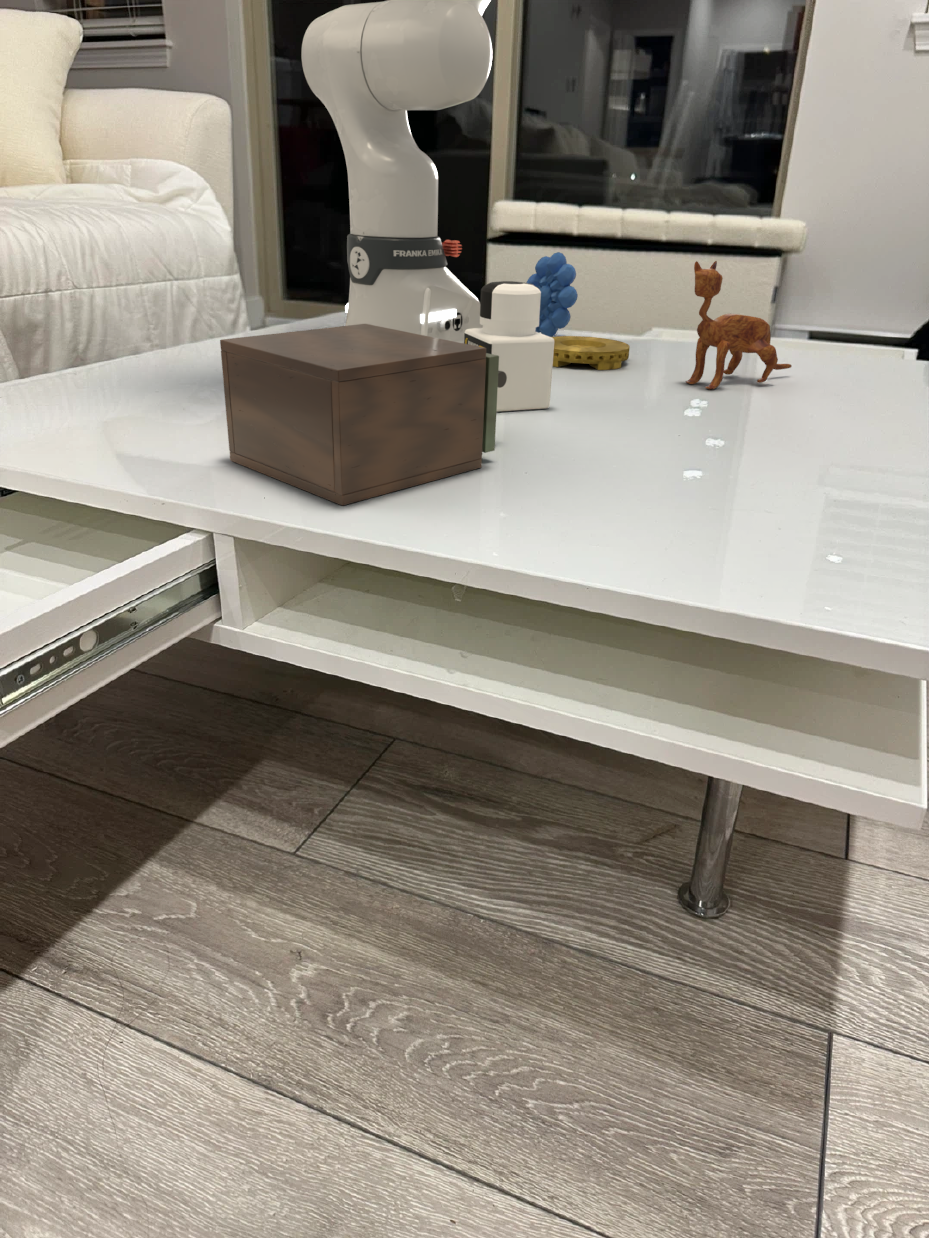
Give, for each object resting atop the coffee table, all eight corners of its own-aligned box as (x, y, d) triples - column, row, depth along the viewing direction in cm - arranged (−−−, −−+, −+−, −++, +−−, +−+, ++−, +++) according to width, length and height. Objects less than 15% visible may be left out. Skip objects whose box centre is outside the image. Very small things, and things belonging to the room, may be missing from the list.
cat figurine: (768, 371, 116) (789, 256, 110) (810, 381, 111) (834, 262, 105) (663, 382, 108) (679, 259, 101) (703, 394, 103) (722, 265, 96)
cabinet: (367, 431, 83) (365, 323, 79) (481, 467, 74) (486, 347, 70) (229, 460, 74) (219, 339, 70) (342, 506, 65) (338, 370, 61)
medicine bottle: (461, 397, 97) (464, 279, 92) (521, 394, 100) (528, 278, 94) (487, 413, 91) (492, 287, 86) (550, 409, 94) (559, 286, 88)
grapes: (594, 343, 131) (602, 254, 126) (556, 345, 128) (563, 255, 123) (548, 330, 140) (554, 247, 135) (512, 333, 137) (516, 247, 132)
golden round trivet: (629, 356, 123) (631, 339, 122) (625, 373, 112) (627, 355, 111) (542, 350, 125) (543, 333, 124) (529, 366, 114) (531, 348, 113)
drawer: (426, 412, 87) (427, 328, 84) (531, 441, 79) (537, 349, 75) (267, 444, 75) (260, 348, 72) (371, 482, 67) (370, 376, 64)
